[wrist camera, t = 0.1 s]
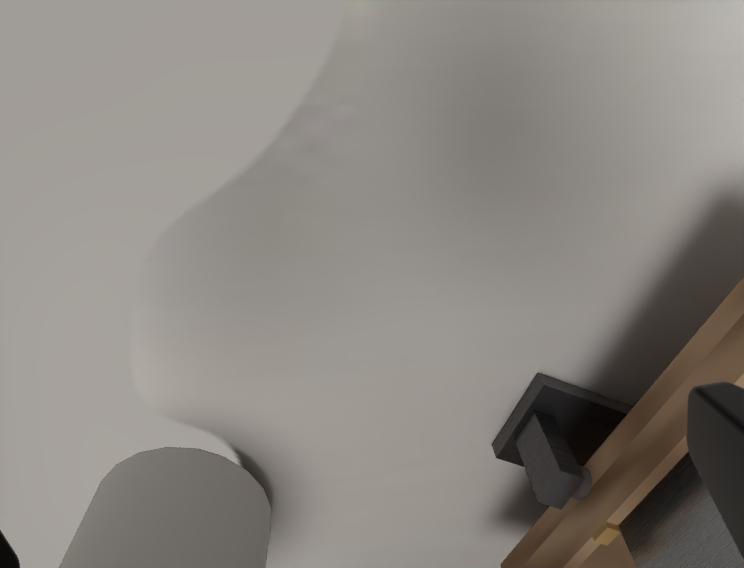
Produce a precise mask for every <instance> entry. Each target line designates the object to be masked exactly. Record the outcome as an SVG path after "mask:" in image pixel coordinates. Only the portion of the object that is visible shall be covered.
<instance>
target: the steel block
mask: <svg viewBox="0 0 744 568" xmlns="http://www.w3.org/2000/svg"><path fill="white" fill-rule="evenodd" d="M618 526H619V528H620V531H621V533H622V536H623V538H624V540H625V542H626V545H627V547H628V549H629V552H630V554H631V556H632V558H633V561H634V563H635V565H636V568H744V559H743V557H742V556H741V554H740V552H739V550H738V548H737V546H736V544H735V542H734V540H733V538H732V536H731V534H730V532H729V530H728V528H727V527H726V525H725V523H724V521H723V519H722V517H721V515H720V513H719V511H718V509H717V507H716V505H715V503H714V501H713V499H712V497H711V495H710V493H709V491H708V490H707V488H706V486H705V484H704V482H703V480H702V478H701V476H700V474H699V472H698V470H697V468H696V466H695V464H694V462H693V460H692V458H691V456H690V453H689V451H688V452H687V453H686V454H685V455H684V456H683V457H682V459H681V460H680V461H679V462H678V463H677V464H676V465H675V466H674V467H673V468H672V469H671V470H670V471H669V472H668V473H667V474H666V475H665V476H664V477H663V479H662V480H661V481H660V482H659V483H658V484H657V485H656V486H655V487H654V488H653V489H652V490H651V491H650V492H649V493H648V494H647V495H646V496H645V498H644V499H643V500H642V501H641V502H640V503H639V504H638V505H637V506H636V507H635V508H634V509H633V510H632V511H631V512H630V513H629V514H628V515H627V516H626V518H625V519H624V520H623V521H622V522H621V523H620V524H619V525H618Z"/></svg>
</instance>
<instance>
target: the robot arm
mask: <svg viewBox="0 0 744 568" xmlns="http://www.w3.org/2000/svg"><path fill="white" fill-rule="evenodd" d="M686 441H687V447H688V450H689V453H690V456H691V458H692V460H693V462H694V464H695V466H696V468H697V470H698V472H699V474H700V476H701V478H702V480H703V482H704V484H705V486H706V488H707V490H708V491H709V493H710V495H711V497H712V499H713V501H714V503H715V505H716V507H717V509H718V511H719V513H720V515H721V517H722V519H723V521H724V523H725V525H726V527H727V528H728V530H729V532H730V534H731V536H732V538H733V540H734V542H735V544H736V546H737V548H738V550H739V552H740V554H741V556H742V557H743V559H744V388H742V387H740V386H737V385H735V384H733V383H730V382H726V381H719V382H714V383H708V384H703V385H697V386H694V387H693V388H692V389H691V390H690V391H689V394H688V403H687V431H686ZM0 568H20V564H19V560H18V557H17V555H16V554H15V552H14V551H13V549H12V548H11V546H10V544H9V543H8V541H7V540H6V539H5V537H4V535H3V534H2V532H1V531H0Z"/></svg>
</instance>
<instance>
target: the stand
mask: <svg viewBox="0 0 744 568" xmlns="http://www.w3.org/2000/svg"><path fill="white" fill-rule="evenodd" d="M632 408H633V407H632V406H629V405H627V404H624V403H621V402H618V401H615V400H613V399H610V398H607V397H604V396H601V395H598V394H596V393H593V392H590V391H587V390H584V389H582V388H579V387H576V386H573V385H570V384H567V383H565V382H562V381H559V380H556V379H553V378H550V377H548V376H545V375H542V374H539V373H538V374H537V375H536V377H535V379H534V380H533V382H532V383H531V385H530V386H529V388H528V390H527V391H526V393H525V394H524V396H523V397H522V399H521V400H520V402H519V404H518V405H517V407H516V408H515V410H514V411H513V413H512V415H511V416H510V418H509V419H508V421H507V422H506V424H505V426H504V427H503V429H502V430H501V432H500V433H499V435H498V436H497V438H496V440H495V441H494V443H493V444H492V447H493V450H494V453H495V456H496V458H498V459H501V460H504V461H508V462H511V463H514V464H517V465H520V466H523V467H525V469H526V472H527V475H528V477H529V480H530V483H531V485H532V488H533V491H534V493H535V496H536V499H537V501H538V503H541V504H544V505H548V506H551V507H554V508H558V509H561V510H562V508H563V507H564V506H565V504H566V503H567V502H568V500H569V499H570V498H571V496H572V495H573V494H574V492H575V491H576V490H577V488H578V487H579V485H580V484H581V483H582V481H583V480H584V479H585V478H584V476H583V474H582V472H581V470H580V468H579V466H582V467H583V466H584V465H585V464H586V463H587V462H588V460H589V459H590V458H591V457H592V456H593V454H594V453H595V452H596V451H597V450H598V449H599V447H600V446H601V445H602V444H603V443H604V441H605V440H606V439H607V438H608V437H609V435H610V434H611V433H612V432H613V431H614V430H615V428H616V427H617V426H618V425H619V424H620V422H621V421H622V420H623V419H624V418H625V417H626V415H627V414H628V413H629V412H630V411H631V409H632ZM578 465H579V466H578Z"/></svg>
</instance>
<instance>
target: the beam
mask: <svg viewBox="0 0 744 568" xmlns="http://www.w3.org/2000/svg"><path fill="white" fill-rule="evenodd" d="M719 381H726V382H730V383H733V384H735V385H737V386H740V387H742V388H744V277H743V278H742V279H741V280H740V281H739V283H738V284H737V285H736V286H735V287H734V289H733V290H732V291H731V292H730V293H729V294H728V296H727V297H726V298H725V299H724V300H723V302H722V303H721V304H720V305H719V306H718V308H717V309H716V310H715V311H714V312H713V313H712V315H711V316H710V317H709V318H708V319H707V321H706V322H705V323H704V324H703V325H702V326H701V328H700V329H699V330H698V331H697V332H696V334H695V335H694V336H693V337H692V338H691V340H690V341H689V342H688V343H687V344H686V345H685V347H684V348H683V349H682V350H681V351H680V353H679V354H678V355H677V356H676V357H675V358H674V360H673V361H672V362H671V363H670V364H669V366H668V367H667V368H666V369H665V370H664V371H663V373H662V374H661V375H660V376H659V377H658V379H657V380H656V381H655V382H654V383H653V385H652V386H651V387H650V388H649V389H648V390H647V392H646V393H645V394H644V395H643V396H642V398H641V399H640V400H639V401H638V402H637V403H636V405H635V406H634V407H633V408H632V409H631V411H630V412H629V413H628V414H627V415H626V417H625V418H624V419H623V420H622V421H621V422H620V424H619V425H618V426H617V427H616V428H615V430H614V431H613V432H612V433H611V434H610V435H609V437H608V438H607V439H606V440H605V441H604V443H603V444H602V445H601V446H600V447H599V449H598V450H597V451H596V452H595V453H594V454H593V456H592V457H591V458H590V459H589V460H588V462H587V463H586V464H585V465H584V466H583V467H582V466H579V465H578V466H579V468H580V470H581V472H582V474H583V476H584V478H585V479H584V480H583V481H582V483H581V484H580V485H579V487H578V488H577V490H576V491H575V492H574V494H573V495H572V496H571V498H570V499H569V500H568V502H567V503H566V504H565V506H564V507H563V508H562V510H561V509H558V508H554V507H551V506H550V507H549V508H548V509H547V510H546V511H545V512H544V514H543V515H542V516H541V517H540V518H539V520H538V521H537V522H536V523H535V524H534V526H533V527H532V528H531V529H530V530H529V531H528V533H527V534H526V535H525V536H524V537H523V539H522V540H521V541H520V542H519V543H518V544H517V546H516V547H515V548H514V549H513V550H512V552H511V553H510V554H509V555H508V556H507V558H506V559H505V560H504V561H503V562H502V563H501V568H636V565H635V563H634V561H633V558H632V556H631V554H630V552H629V549H628V547H627V545H626V542H625V540H624V538H623V536H622V533H621V531H620V528H619V526H618V525H619V524H620V523H621V522H622V521H623V520H624V519H625V518H626V516H627V515H628V514H629V513H630V512H631V511H632V510H633V509H634V508H635V507H636V506H637V505H638V504H639V503H640V502H641V501H642V500H643V499H644V498H645V496H646V495H647V494H648V493H649V492H650V491H651V490H652V489H653V488H654V487H655V486H656V485H657V484H658V483H659V482H660V481H661V480H662V479H663V477H664V476H665V475H666V474H667V473H668V472H669V471H670V470H671V469H672V468H673V467H674V466H675V465H676V464H677V463H678V462H679V461H680V460H681V459H682V457H683V456H684V455H685V454H686V453H687V452H688V451H689V450H688V447H687V441H686V431H687V403H688V394H689V391H690V390H691V389H692V388H693V387H694V386H697V385H703V384H708V383H714V382H719Z"/></svg>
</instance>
